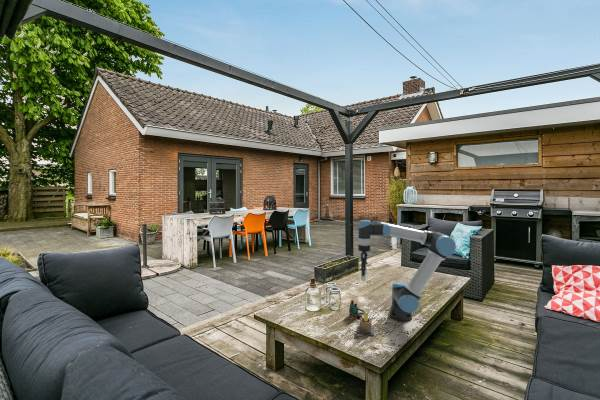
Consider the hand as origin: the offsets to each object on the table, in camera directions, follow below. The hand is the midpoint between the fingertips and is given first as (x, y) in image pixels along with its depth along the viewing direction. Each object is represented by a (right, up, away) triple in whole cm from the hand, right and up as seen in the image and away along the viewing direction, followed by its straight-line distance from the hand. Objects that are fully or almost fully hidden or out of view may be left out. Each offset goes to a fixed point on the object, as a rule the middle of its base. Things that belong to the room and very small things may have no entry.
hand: (363, 277), depth 195 cm
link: (-1, -30, -8) cm, 31 cm away
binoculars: (-2, -30, +13) cm, 33 cm away
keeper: (-1, -31, -8) cm, 32 cm away
